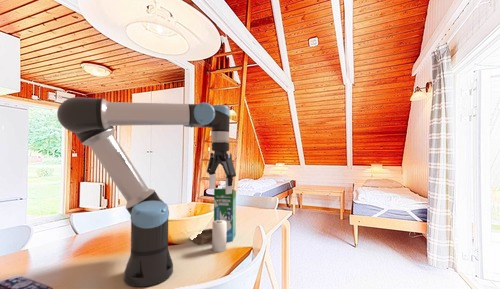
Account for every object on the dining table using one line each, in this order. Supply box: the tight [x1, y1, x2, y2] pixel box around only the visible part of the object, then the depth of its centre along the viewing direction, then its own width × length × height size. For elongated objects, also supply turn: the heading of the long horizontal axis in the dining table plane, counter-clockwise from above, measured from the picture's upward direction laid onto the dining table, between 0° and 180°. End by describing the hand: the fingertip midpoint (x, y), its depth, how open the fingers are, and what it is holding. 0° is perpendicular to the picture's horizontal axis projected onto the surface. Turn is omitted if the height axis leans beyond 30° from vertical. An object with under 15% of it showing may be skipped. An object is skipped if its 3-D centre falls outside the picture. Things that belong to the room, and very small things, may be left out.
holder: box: [191, 228, 212, 246], centre depth 117 cm, size 14×10×3 cm
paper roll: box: [211, 220, 227, 253], centre depth 104 cm, size 6×6×12 cm
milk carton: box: [213, 186, 237, 242], centre depth 119 cm, size 9×9×25 cm
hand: (220, 191), depth 104 cm, fingers open, 13 cm apart
